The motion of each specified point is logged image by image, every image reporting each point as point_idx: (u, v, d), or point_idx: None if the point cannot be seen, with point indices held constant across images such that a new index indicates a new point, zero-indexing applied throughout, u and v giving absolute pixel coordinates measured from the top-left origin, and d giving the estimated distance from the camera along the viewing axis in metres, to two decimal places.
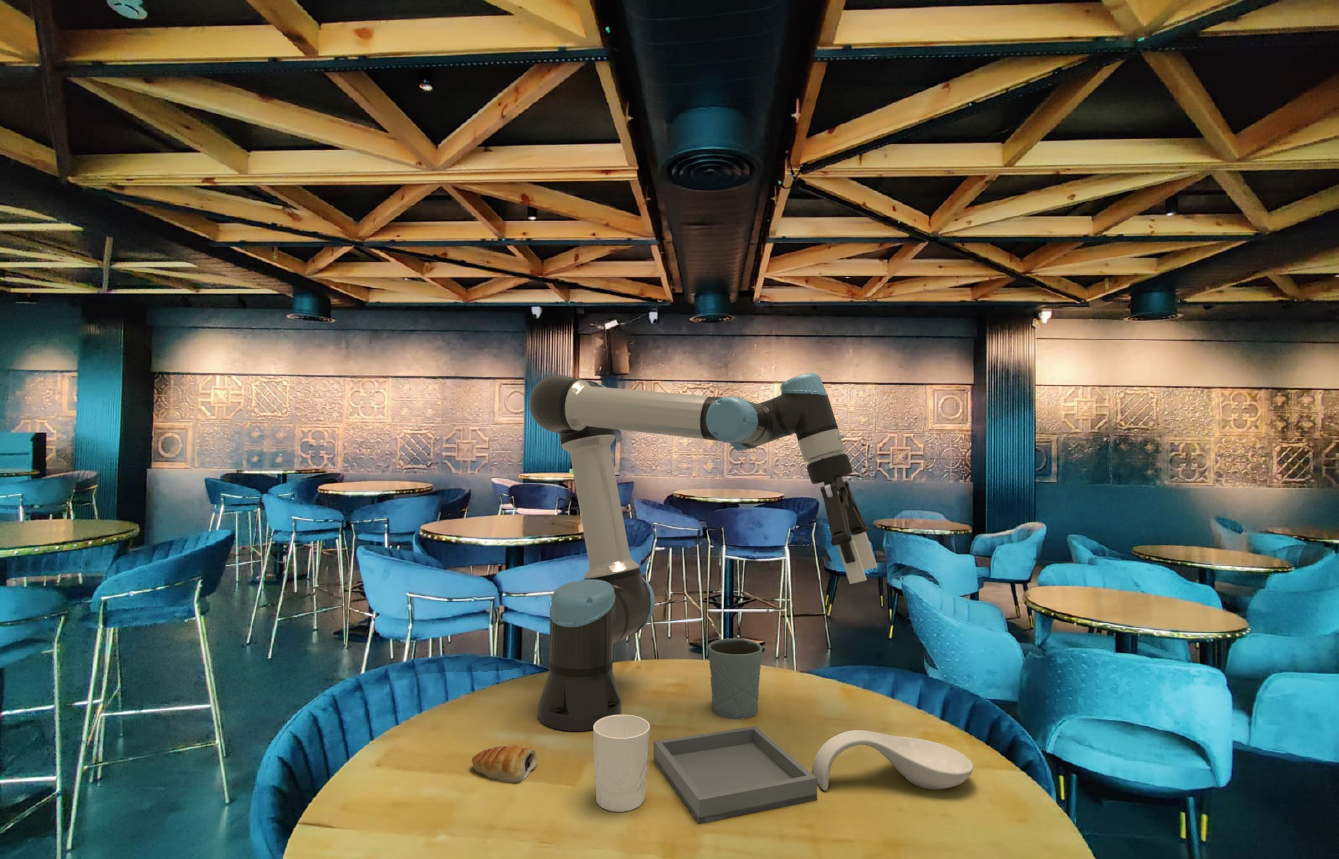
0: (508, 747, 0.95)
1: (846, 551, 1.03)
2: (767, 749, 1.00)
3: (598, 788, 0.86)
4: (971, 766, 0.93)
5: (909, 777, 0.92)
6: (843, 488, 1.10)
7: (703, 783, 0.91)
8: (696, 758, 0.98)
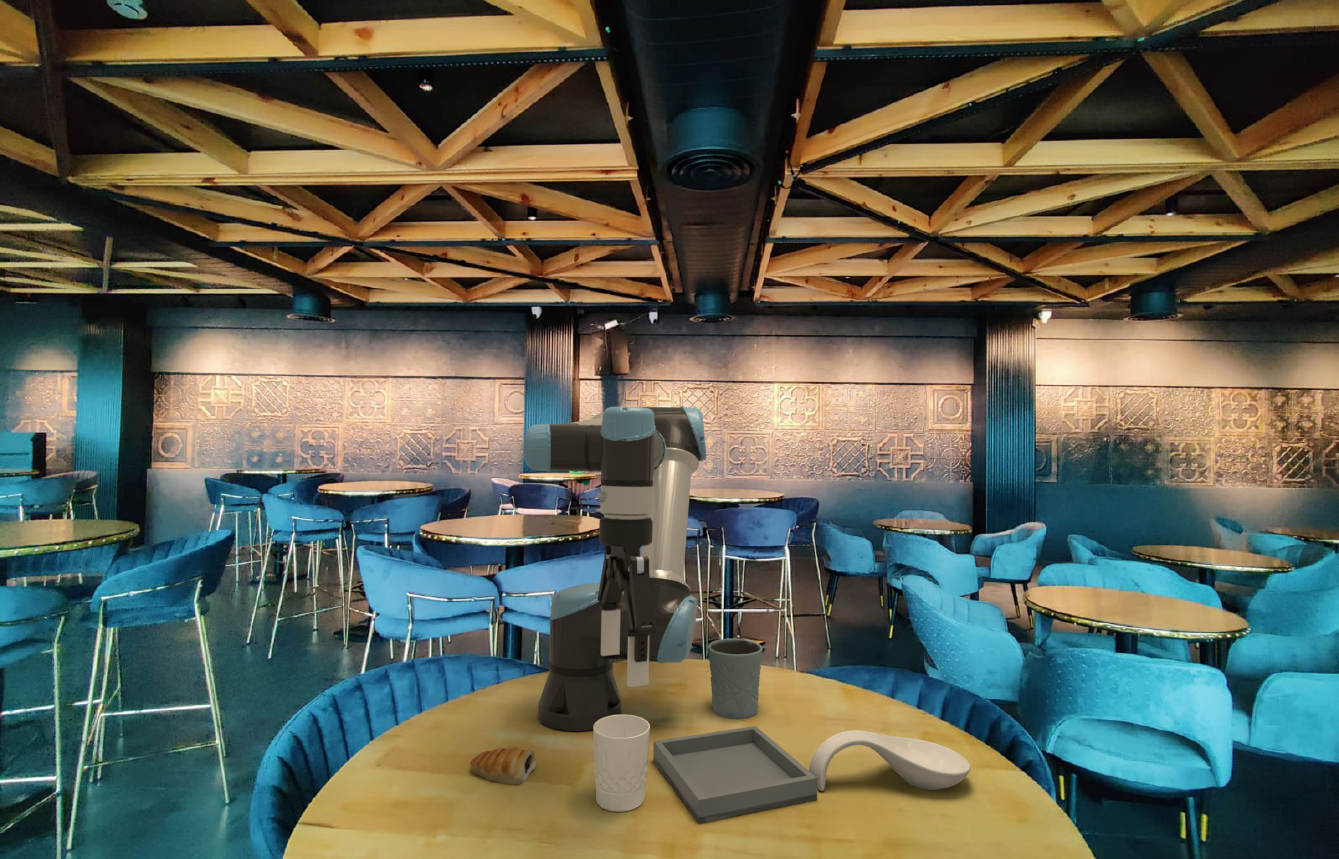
0: (507, 749, 0.95)
1: None
2: (767, 749, 1.00)
3: (598, 788, 0.86)
4: (968, 766, 0.92)
5: (906, 777, 0.92)
6: None
7: (703, 783, 0.91)
8: (696, 758, 0.98)
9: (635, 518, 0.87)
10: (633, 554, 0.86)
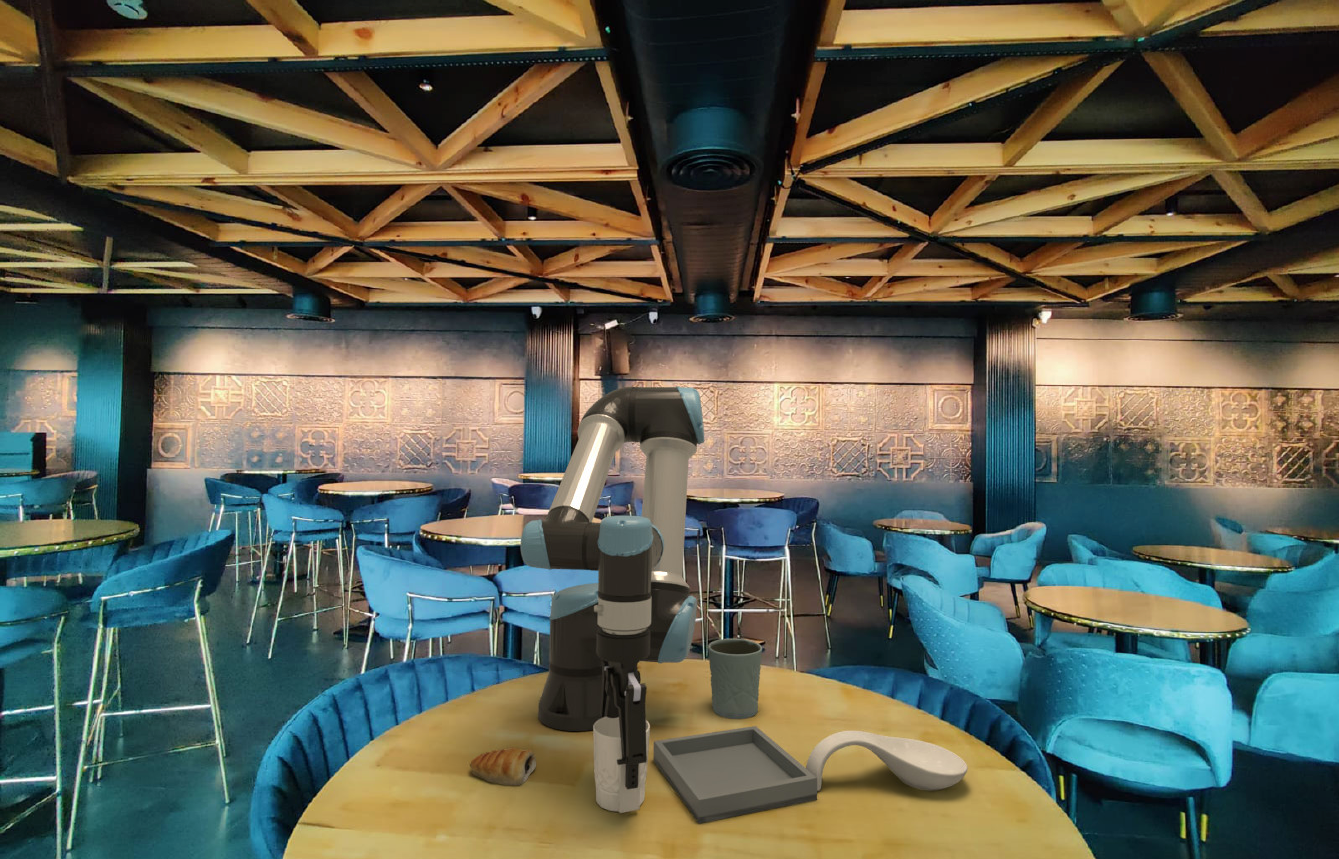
0: (507, 750, 0.95)
1: None
2: (767, 749, 1.00)
3: (598, 788, 0.86)
4: (965, 767, 0.92)
5: (903, 778, 0.92)
6: (608, 668, 0.90)
7: (703, 783, 0.91)
8: (696, 758, 0.98)
9: (632, 633, 0.86)
10: (631, 670, 0.85)
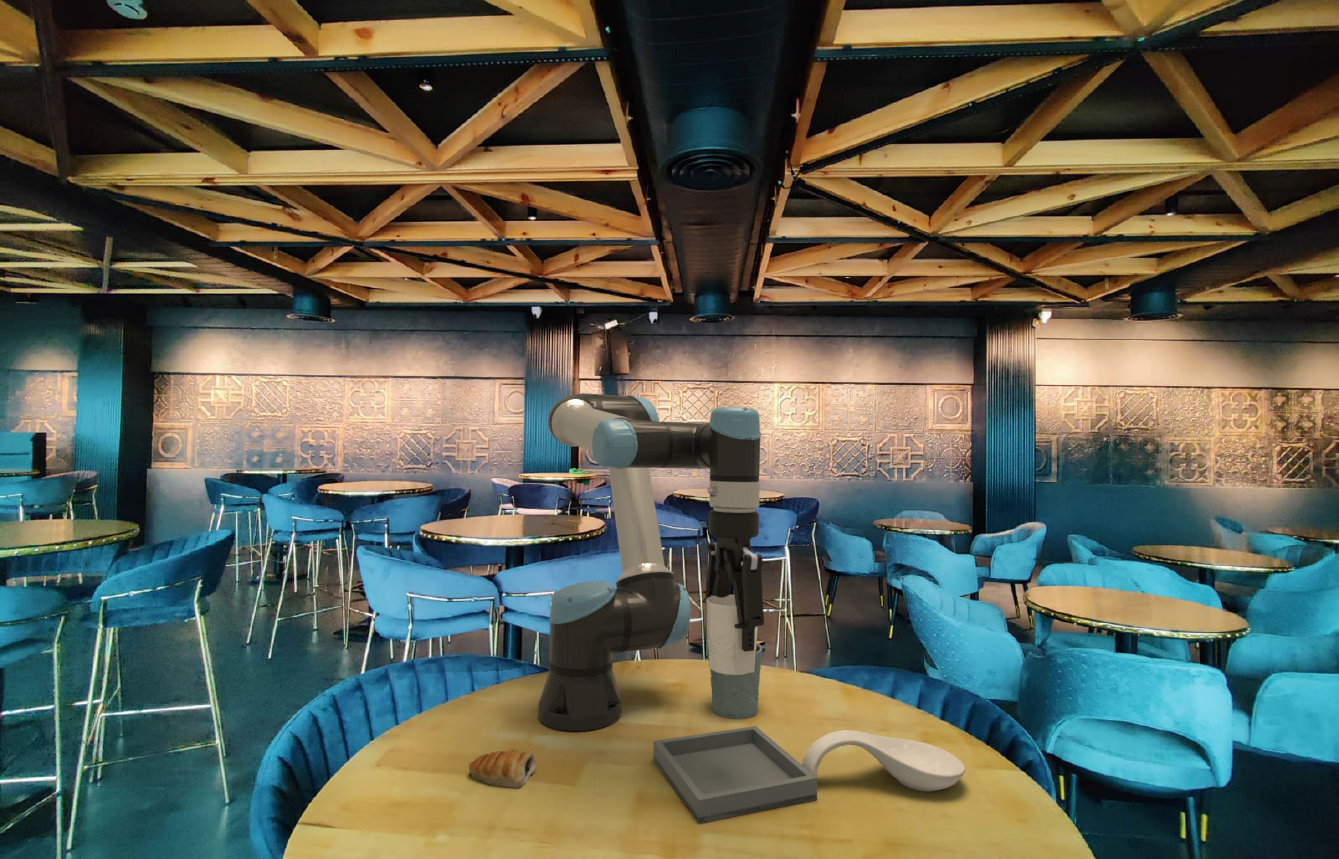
0: (506, 752, 0.94)
1: None
2: (767, 749, 1.00)
3: (713, 655, 0.93)
4: (962, 769, 0.92)
5: (898, 778, 0.92)
6: None
7: (703, 783, 0.91)
8: (696, 758, 0.98)
9: (745, 511, 0.93)
10: (745, 545, 0.92)
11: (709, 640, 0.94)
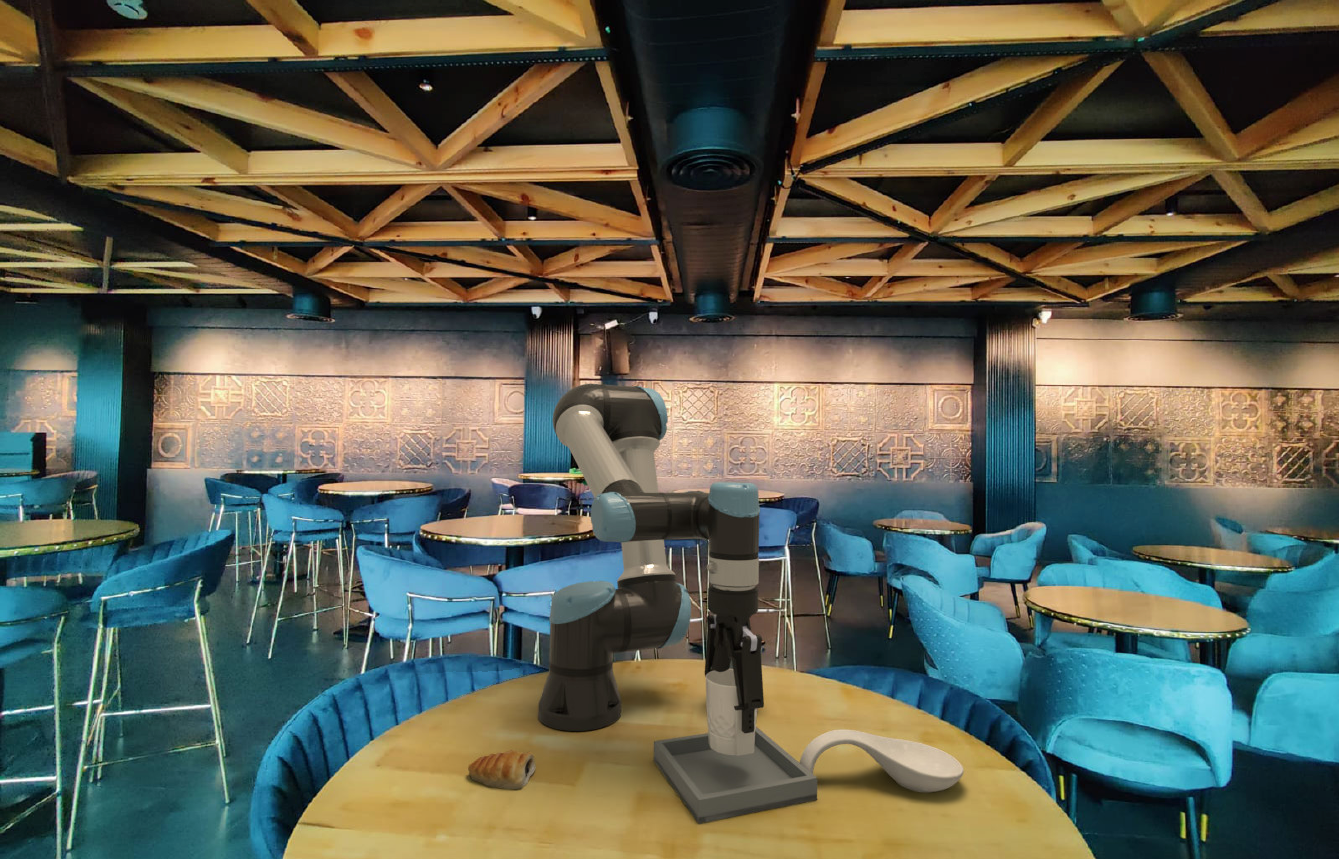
0: (506, 753, 0.93)
1: None
2: (767, 749, 1.00)
3: (713, 734, 0.92)
4: (961, 771, 0.91)
5: (896, 778, 0.92)
6: (718, 624, 0.96)
7: (703, 783, 0.91)
8: (696, 758, 0.98)
9: (745, 589, 0.92)
10: (744, 624, 0.91)
11: (709, 718, 0.93)
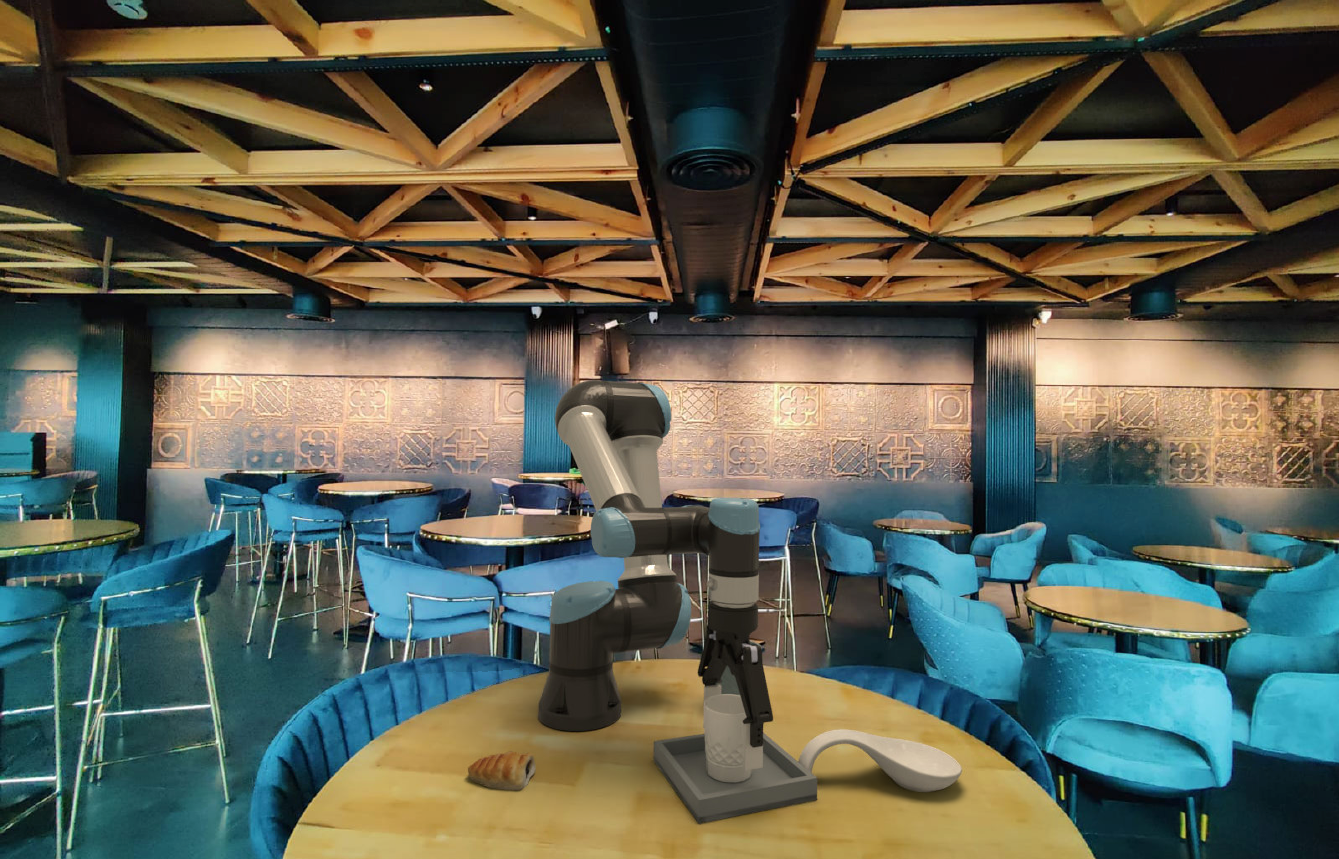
0: (506, 754, 0.93)
1: None
2: (767, 749, 1.00)
3: (711, 761, 0.93)
4: (959, 770, 0.91)
5: (894, 778, 0.92)
6: None
7: (703, 783, 0.91)
8: (696, 758, 0.98)
9: (744, 606, 0.92)
10: (744, 641, 0.91)
11: (707, 745, 0.93)
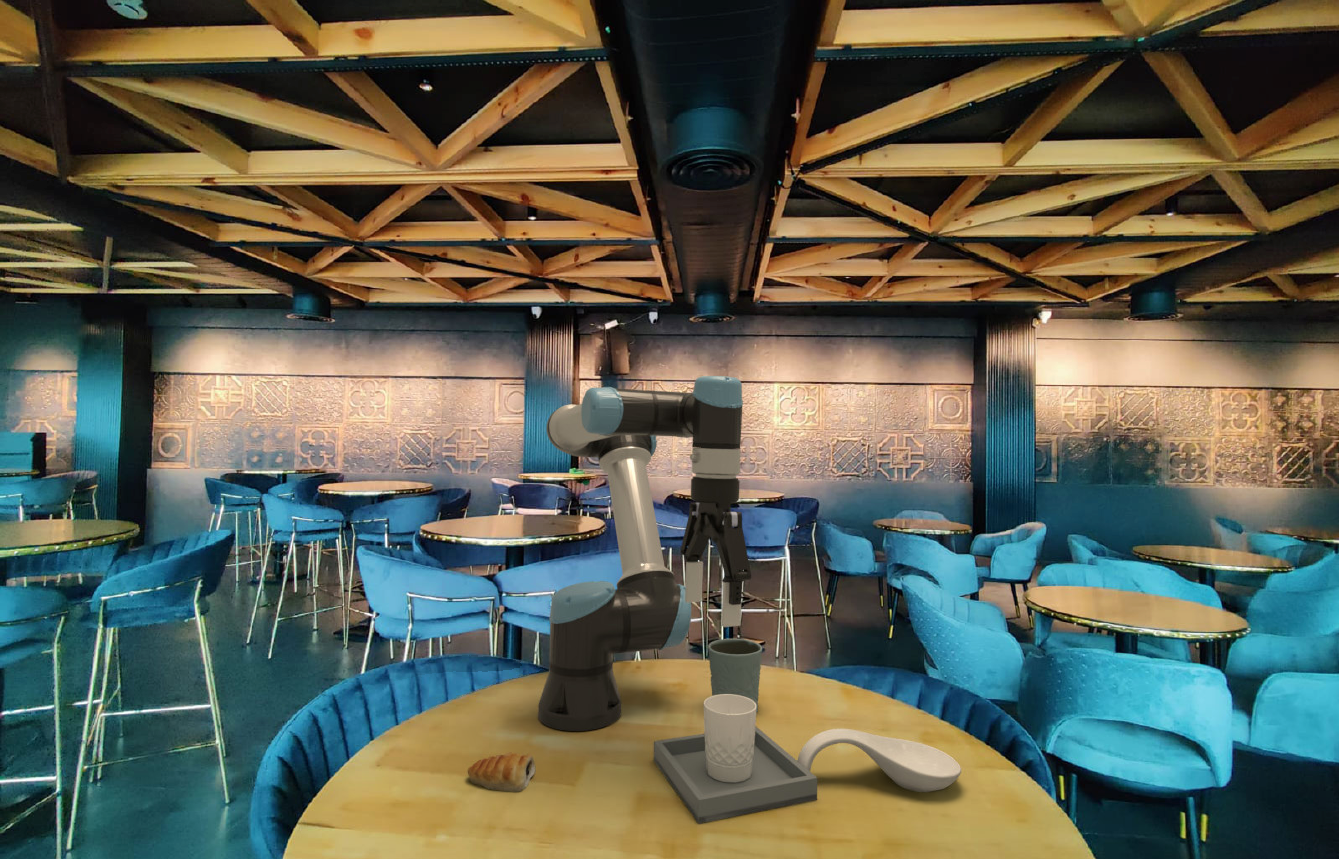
0: (506, 756, 0.93)
1: None
2: (767, 749, 1.00)
3: (711, 761, 0.93)
4: (958, 770, 0.91)
5: (893, 778, 0.92)
6: None
7: (703, 783, 0.91)
8: (696, 758, 0.98)
9: (726, 477, 0.96)
10: (725, 510, 0.95)
11: (707, 745, 0.93)
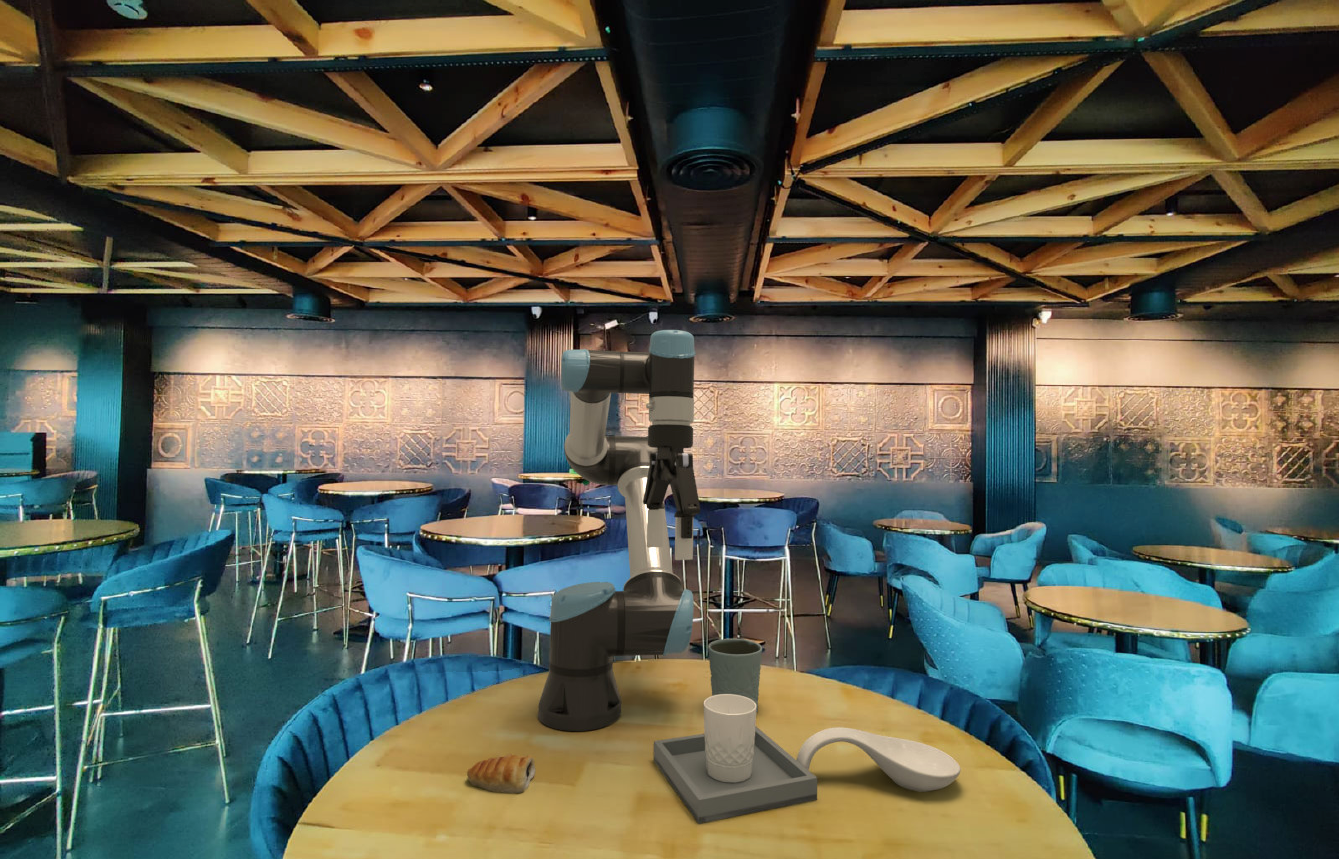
0: (506, 757, 0.92)
1: None
2: (767, 749, 1.00)
3: (711, 761, 0.93)
4: (957, 770, 0.91)
5: (891, 777, 0.92)
6: None
7: (703, 783, 0.91)
8: (696, 758, 0.98)
9: (679, 423, 1.02)
10: (678, 453, 1.02)
11: (706, 745, 0.93)
